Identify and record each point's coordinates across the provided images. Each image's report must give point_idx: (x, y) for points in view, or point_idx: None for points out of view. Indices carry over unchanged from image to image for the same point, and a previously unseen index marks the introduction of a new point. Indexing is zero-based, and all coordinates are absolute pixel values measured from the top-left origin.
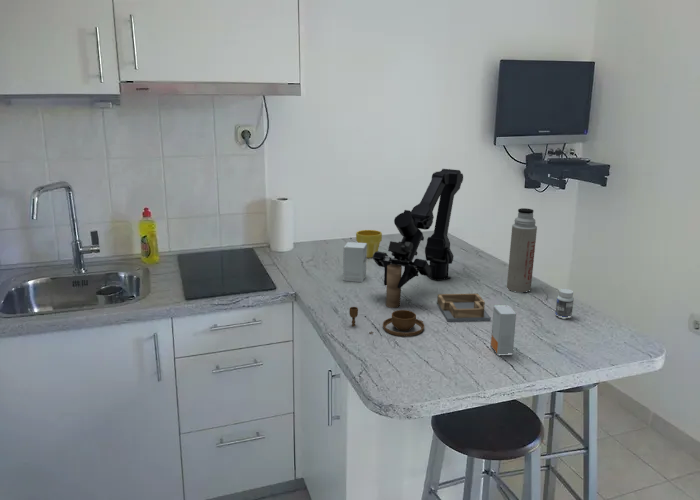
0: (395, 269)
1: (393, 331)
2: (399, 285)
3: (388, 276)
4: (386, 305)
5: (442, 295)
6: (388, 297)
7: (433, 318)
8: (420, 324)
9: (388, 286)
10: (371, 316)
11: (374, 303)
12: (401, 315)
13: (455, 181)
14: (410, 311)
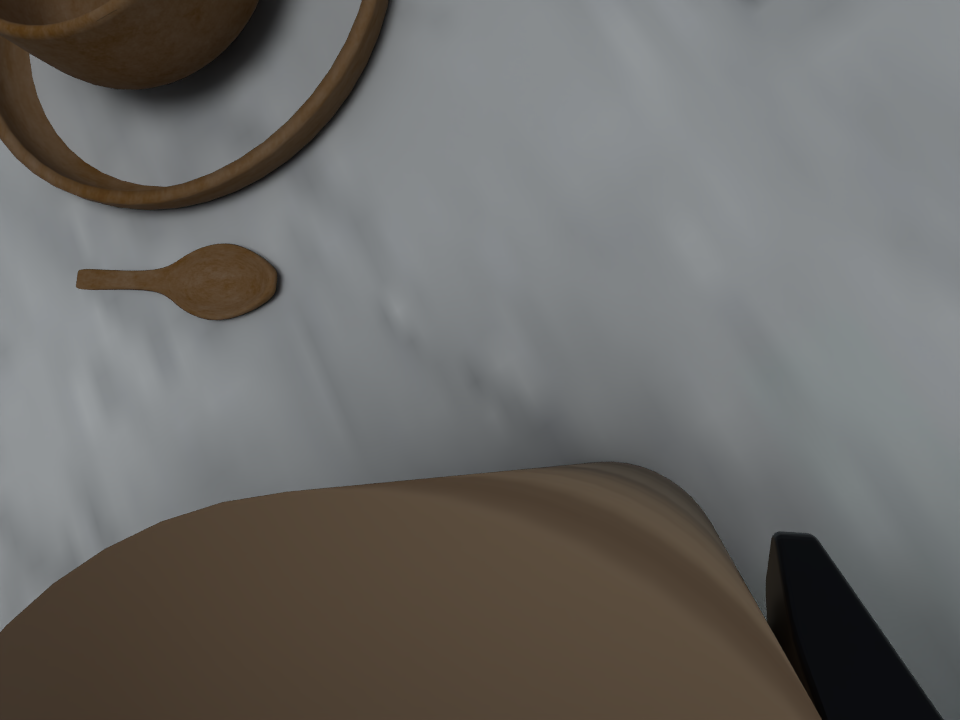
0: (104, 583)
1: None
2: None
3: (621, 501)
4: (686, 493)
5: None
6: (632, 470)
7: (16, 434)
8: (58, 162)
9: (628, 480)
10: (666, 32)
11: (927, 497)
12: (185, 18)
13: None
14: (29, 25)
